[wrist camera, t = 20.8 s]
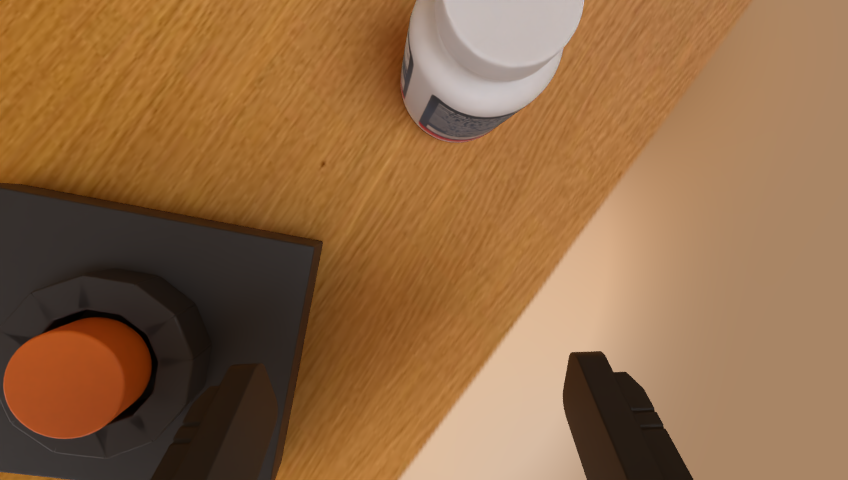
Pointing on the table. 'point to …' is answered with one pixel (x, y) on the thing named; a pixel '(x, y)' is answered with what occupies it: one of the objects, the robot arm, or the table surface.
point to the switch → (77, 377)
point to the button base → (148, 317)
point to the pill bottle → (481, 61)
